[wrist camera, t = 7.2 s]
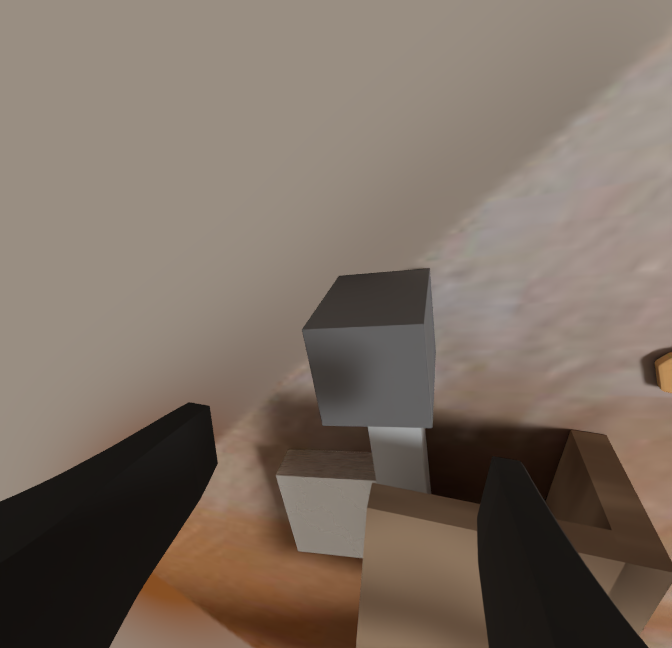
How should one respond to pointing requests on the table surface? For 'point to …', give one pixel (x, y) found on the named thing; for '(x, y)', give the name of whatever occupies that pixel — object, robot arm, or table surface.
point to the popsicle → (664, 372)
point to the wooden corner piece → (462, 553)
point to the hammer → (378, 367)
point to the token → (327, 499)
